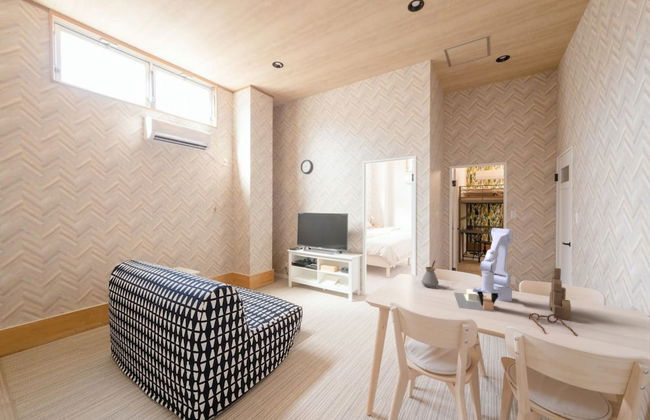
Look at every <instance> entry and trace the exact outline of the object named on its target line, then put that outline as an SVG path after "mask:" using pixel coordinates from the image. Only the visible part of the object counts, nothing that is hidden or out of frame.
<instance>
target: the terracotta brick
mask: <svg viewBox="0 0 650 420" xmlns="http://www.w3.org/2000/svg"><path fill="white" fill-rule="evenodd" d="M486 297H487V296H486ZM486 297H483V306H482V307H483V308H484V309H485V310H493V308H494V305H495V303H493V302H492V300H491V297H487V298H486ZM494 309H495V308H494Z"/></svg>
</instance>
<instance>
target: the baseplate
mask: <svg viewBox="0 0 650 420" xmlns="http://www.w3.org/2000/svg"><path fill="white" fill-rule="evenodd" d="M453 293H454V296H455V297H454V298H455V299H456V303H457V306H458V308H459V309H463V310H464V309H466V310H473V311H483V312H490V313H496V310H495V308H493V310H485V309H484V308H483V307H482V305H481V302H480V298H479V295H478V294H477V301H474V300H468V298H467V295H466V293H463V292H453ZM483 297H486V298H488V297H487V295H484V296H483Z"/></svg>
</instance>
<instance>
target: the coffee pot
mask: <svg viewBox="0 0 650 420" xmlns="http://www.w3.org/2000/svg"><path fill="white" fill-rule="evenodd" d="M435 264H436V260H435V259H434V260H433V261H432V265H431V266H426V267H425V272H424V274H423V276H422V279H421V284H422V285H423V286H424V287H425V288H429V287H434V288H436V287H437V286H439V284H440V282H439V279H438V277H437V275H436V273H435V271H436V268H435V267H434V266H435Z"/></svg>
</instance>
